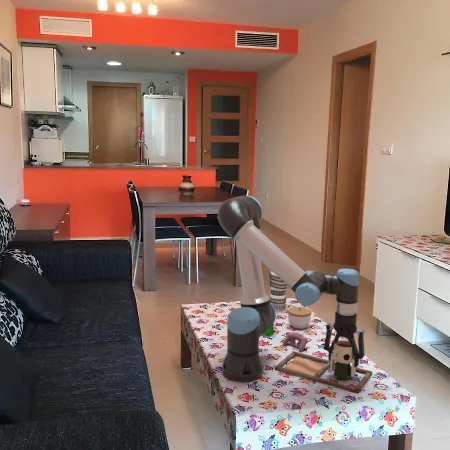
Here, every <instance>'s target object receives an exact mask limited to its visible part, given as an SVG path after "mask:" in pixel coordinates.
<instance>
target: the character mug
mask: <svg viewBox="0 0 450 450" xmlns="http://www.w3.org/2000/svg"><path fill="white" fill-rule="evenodd" d="M333 351H334V352H333V360H335V362H336V364H335V368H334V369H333V375H334V377H336V378H337V379H339V380H344V381H346V380H349V379H351V378H352V376H351V366H352V358H353V357H354V356H353V352H352V347H351V346H350V343H349V341H348V340H346V339H339V340H338V342H337V343H334V350H333Z"/></svg>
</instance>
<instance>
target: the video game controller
mask: <svg viewBox="0 0 450 450" xmlns="http://www.w3.org/2000/svg"><path fill="white" fill-rule="evenodd" d="M308 341H309V340H308V338H307V337H306V336H304V335H303V334H302V333H300V332H296V331H295V332H293V331H292V332H289V333H287V334H286V336H285V337H284V339H283V341H282V346H283V347H285V346H286V345H288V344H290V346H292V347H293V346H294V347H295V346H296V348H298V351H299V353H301V352H303V351H304V349H305V348H306V345H307V344H308Z"/></svg>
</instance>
